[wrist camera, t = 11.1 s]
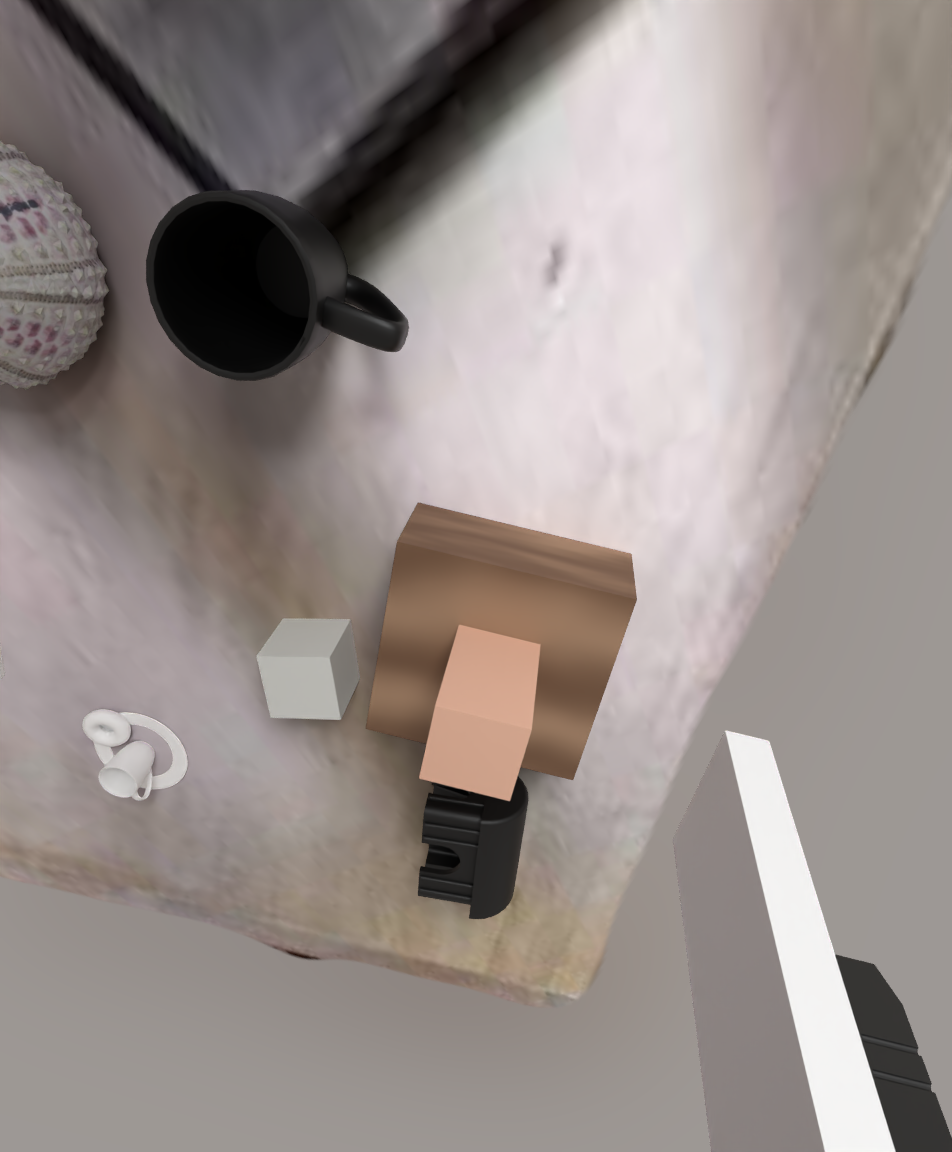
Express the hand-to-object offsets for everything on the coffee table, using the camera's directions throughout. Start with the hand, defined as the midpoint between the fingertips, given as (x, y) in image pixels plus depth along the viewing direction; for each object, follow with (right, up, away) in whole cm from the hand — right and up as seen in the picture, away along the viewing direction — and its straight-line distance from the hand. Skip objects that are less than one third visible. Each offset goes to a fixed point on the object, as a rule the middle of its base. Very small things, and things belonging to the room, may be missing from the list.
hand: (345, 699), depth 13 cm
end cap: (+3, -16, +46) cm, 49 cm away
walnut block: (+4, -1, +38) cm, 38 cm away
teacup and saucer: (-24, -9, +47) cm, 54 cm away
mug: (-6, +19, +30) cm, 36 cm away
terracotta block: (+3, -3, +33) cm, 33 cm away
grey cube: (-9, -3, +41) cm, 42 cm away
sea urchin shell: (-25, +21, +32) cm, 45 cm away
